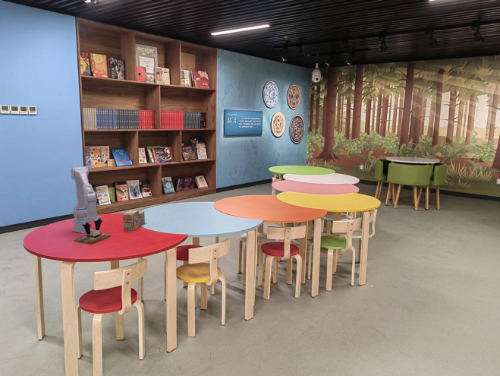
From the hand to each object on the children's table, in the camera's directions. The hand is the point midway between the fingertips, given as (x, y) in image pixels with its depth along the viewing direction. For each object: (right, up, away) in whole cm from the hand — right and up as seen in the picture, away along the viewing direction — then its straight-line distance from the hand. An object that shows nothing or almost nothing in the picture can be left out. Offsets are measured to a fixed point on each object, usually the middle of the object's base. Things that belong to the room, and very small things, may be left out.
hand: (93, 232), depth 241 cm
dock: (0, -4, +1) cm, 4 cm away
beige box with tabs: (0, -3, +1) cm, 3 cm away
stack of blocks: (+18, 0, +29) cm, 34 cm away
